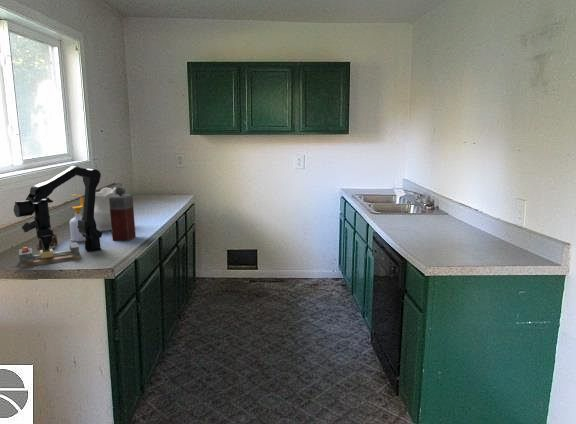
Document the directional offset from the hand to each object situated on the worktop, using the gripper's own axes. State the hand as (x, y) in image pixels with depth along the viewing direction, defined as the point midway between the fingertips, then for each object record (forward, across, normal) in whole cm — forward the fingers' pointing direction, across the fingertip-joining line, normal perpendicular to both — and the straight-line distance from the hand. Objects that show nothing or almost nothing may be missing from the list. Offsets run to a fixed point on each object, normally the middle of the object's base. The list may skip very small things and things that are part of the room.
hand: (46, 247), depth 202 cm
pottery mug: (+6, -26, +2) cm, 27 cm away
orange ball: (+1, 0, -8) cm, 8 cm away
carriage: (+4, 0, 0) cm, 4 cm away
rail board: (+6, 0, +2) cm, 6 cm away
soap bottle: (+6, -33, +17) cm, 38 cm away
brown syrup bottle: (+6, -23, +38) cm, 45 cm away
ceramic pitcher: (+6, -52, +32) cm, 62 cm away
